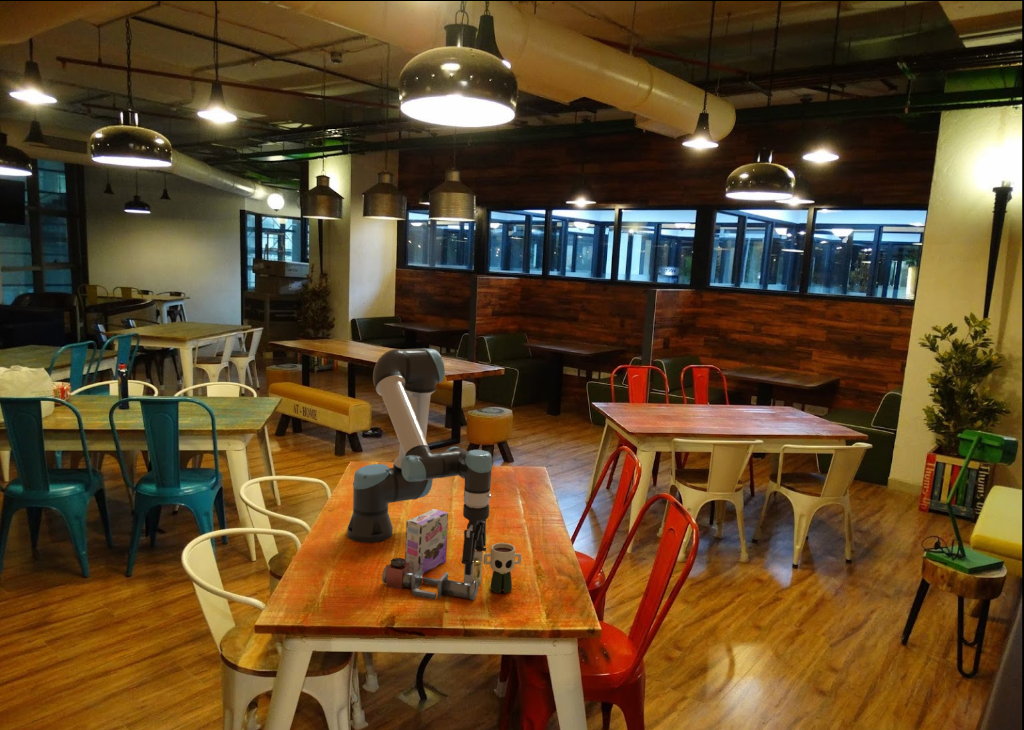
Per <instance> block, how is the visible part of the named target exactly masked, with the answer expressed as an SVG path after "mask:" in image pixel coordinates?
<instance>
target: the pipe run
mask: <svg viewBox="0 0 1024 730" xmlns="http://www.w3.org/2000/svg"><path fill="white" fill-rule="evenodd" d="M409 570H410V563H407V562H406V560H405V558H402V557H395V558H392V559H391V560H390V563H389V564H386V566H385V567H384V569H383V572H382V574H381V580H382V583H383V584H385V587H386V588H391V589H397V590H400V591H401V590H403V589H404V588H411V589H410V590H411V591H410V592H411V593H412V596H413V597H419V598H423V599H428V600H429V599H430V600H437V598H442V597H443V596H444V595H447V596H452V597H456V598H461V599H462V598H463V599H468V600H471V601H475V599H476V598H477V595H478V592H479V586H478V581H475V580H473V581H472V583H471V584H468V583H464V581H463V582H462V581H458V580H457V581H456V580H451V579H449V572H446V571H445V572H444V573H443V574H442V575H441V577H440V578H438V579H437V578H433V577H427V576H424V577H423V575H424V574H423V568H419V569H418V570H417V571H416V572H415V573H414V574H413V573H409ZM423 584H426V585H431V586H437V593H436V592H432V591H427V590H423V589H422V590H421V589H420V587H421V586H422V585H423Z"/></svg>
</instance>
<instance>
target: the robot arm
mask: <svg viewBox="0 0 1024 730" xmlns="http://www.w3.org/2000/svg"><path fill="white" fill-rule="evenodd" d="M445 369H446V368H445V363H444V360H443V357H442V356H441V354H440V352H439V351H438V350H436V349H435V348H425V347H422V348H405V349H402V348H401V349H400V348H395V349H390V350H388V351H386V352H384V353H383V354H382V355H381V356H380V357H379V358H378V360H377V361H376V363H375V366H374V367H373V372H372V373H373V374H372V381H373V382H372V383H373V386H374V389H375V391H376V393H377V394H378V395H379V396H381V399H382V400H383V403H384V406H385V409H386V411H387V413H388V416H389V418H390V421H391V424H392V426H393V428H394V431H395V434H396V436H397V439H398V442H399V451H398V452H399V453H398V456H397V457H396V458H395V459H394V460H393V466H392V467H389V466H388V465H387V464H383V463H378V464H377V463H373V464H368V465H364V466H362V467H359V468H358V469H357V470H356V471H355V472H354V475H353V482H352V487H353V488H352V489H353V494H352V496H353V498H352V499H353V500H352V503H353V504H352V515H351V517H350V520H349V523H348V525H347V531H346V532H347V533H346V534H347V535H346V536H347V538H348V539H350V540H351V541H353V542H357V543H362V544H363V543H364V544H366V543H367V544H369V543H370V544H371V543H380V542H385V541H387V540H389V539H390V538H392V536H393V534H394V533H393V531H394V530H393V529H394V527H393V524H392V521H391V517H390V515H389V504H391V503H397V502H404V501H409V500H410V501H411V500H413V501H414V500H417V499H420V498H425V496H428V494H429V493H430V492H431V490H432V486H433V481H434V479H442V478H449V477H450V478H451V477H460V478H462V479H464V489H463V503H464V504H463V510H462V514H463V517H464V519H467V520H468V523H467V526H466V529H464V530H463V531H464V532H463V548H462V557H461V558H462V559H461V563H462V564H463V568H464V569H463V583H468V584H471V583H472V581H473V579H474V563H473V560H474V558H478V559H480V560H481V562H482V564H484V552H487V548H486V547H487V546H486V545H487V537H486V536H487V535H486V534H487V528H486V527H487V520H488V519H489V517H490V505H489V504H490V500H491V498H492V494H491V482H492V469H493V464H492V463H493V462H492V454H491V453H490V451H488V450H487V451H486V450H482V449H473V450H472V449H471V450H469V451H468V450H466V448H465V449H464V448H463V447H459V446H450V447H449V448H447V449H446V450H445V451H441V452H439V451H438V452H432V451H431V449H430V447H429V444H428V442H427V431H428V424H429V421H428V420H429V413H430V404H431V397H432V396H431V395H432V394H433V393H435V392H436V391H437V389H436V388H437V384H440V383H442V382H443V380H444V378H445V374H446V373H445V371H446V370H445Z"/></svg>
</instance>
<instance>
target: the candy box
mask: <svg viewBox="0 0 1024 730" xmlns="http://www.w3.org/2000/svg"><path fill="white" fill-rule="evenodd" d="M448 518H449V512H447V511H444V510H441V509H436V508H432V509H431V510H428V511H427V512H424V513H421V514H420V515H417V516H415V517H412V518H410V519H407V520H406V525H405V528H406V529H405V547H404V548H405V550H404V551H405V552H404V553H405V554H404V559H405V560H406V562H407V563H410V570H409V573H413V574H414V573H415V572H416V571H417V570H418V569H419V568H423V575H424V574H425V573H426V574H427V572H429V571H432V570H433V569H435V568H437V567H438V566H441V565H443V564H444V563H446V562H447V549H448V547H447V546H448V545H447V543H448V524H449V523H448V521H449V520H448Z"/></svg>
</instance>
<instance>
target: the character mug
mask: <svg viewBox="0 0 1024 730" xmlns="http://www.w3.org/2000/svg"><path fill="white" fill-rule="evenodd" d="M488 557H490V559H489V560H488ZM516 557H517V560H516V559H515V558H516ZM483 564H484V565H489V567H490V568H491V571H493V572H492V575H491V579H490V580H491V581H490V586H489V587H490V590H491V591H492V592H494V593H498V594H501V592H502V591H503V594H506V593H510V592H511V591H512V590H513V589H512V586H513V585H512V583H513V582H512V581H513V580H512V573H511V572H512V571H513V570H514V569H515V565H520V564H522V553H518V552H517V553H516V547H515V546H514V545H513V544H511V543H508V542H506V543H505V542H497V543H494V544H492V545H491V548H490V553H483Z"/></svg>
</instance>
